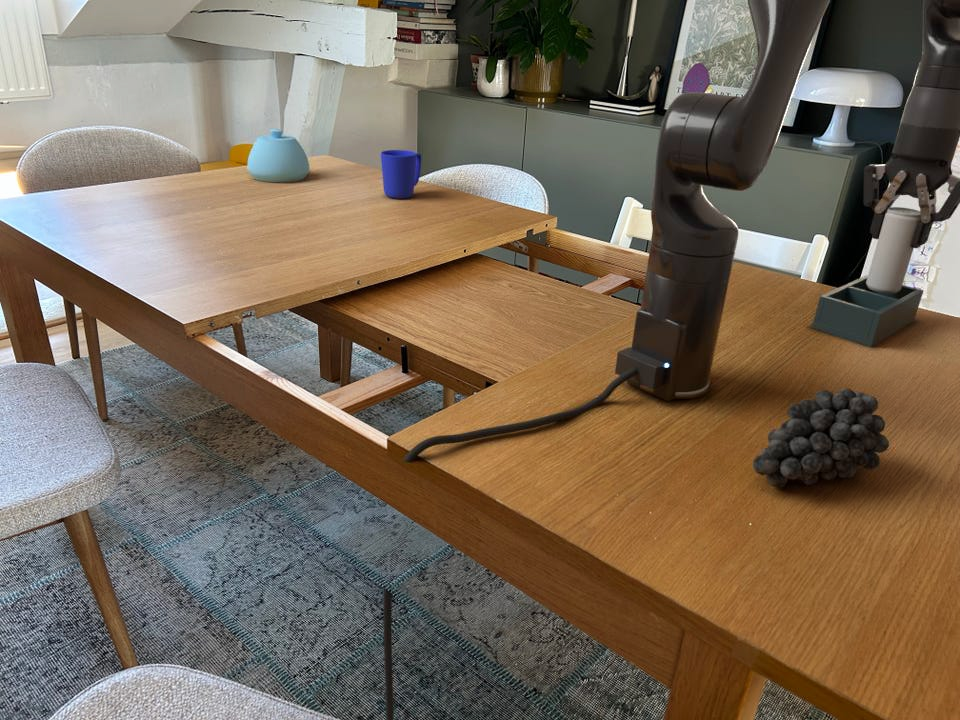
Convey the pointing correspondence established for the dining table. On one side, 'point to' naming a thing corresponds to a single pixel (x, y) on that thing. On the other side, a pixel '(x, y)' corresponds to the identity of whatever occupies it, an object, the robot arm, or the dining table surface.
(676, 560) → the dining table surface
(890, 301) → the divided storage box
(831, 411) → the fruit
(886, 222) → the beverage can
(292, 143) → the sugar bowl
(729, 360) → the dining table surface
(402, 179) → the mug
